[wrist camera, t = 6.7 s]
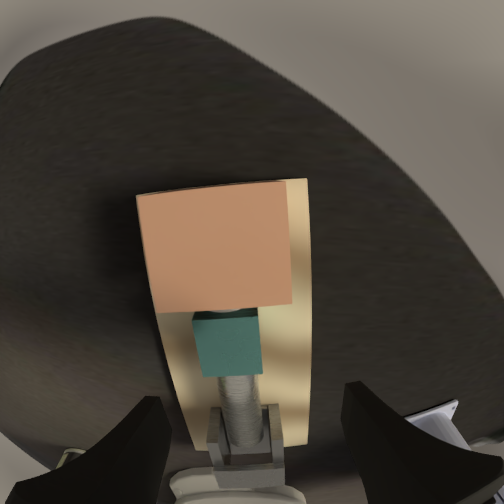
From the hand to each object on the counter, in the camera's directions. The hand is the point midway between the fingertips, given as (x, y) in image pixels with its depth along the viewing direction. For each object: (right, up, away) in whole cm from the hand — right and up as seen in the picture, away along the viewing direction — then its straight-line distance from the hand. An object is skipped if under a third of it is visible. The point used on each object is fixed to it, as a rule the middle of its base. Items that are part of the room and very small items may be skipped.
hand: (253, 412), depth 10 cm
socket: (-2, +7, +8) cm, 11 cm away
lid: (-2, -25, +16) cm, 30 cm away
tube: (-1, +1, +8) cm, 8 cm away
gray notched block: (0, -8, +12) cm, 14 cm away
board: (-1, 0, +10) cm, 10 cm away
